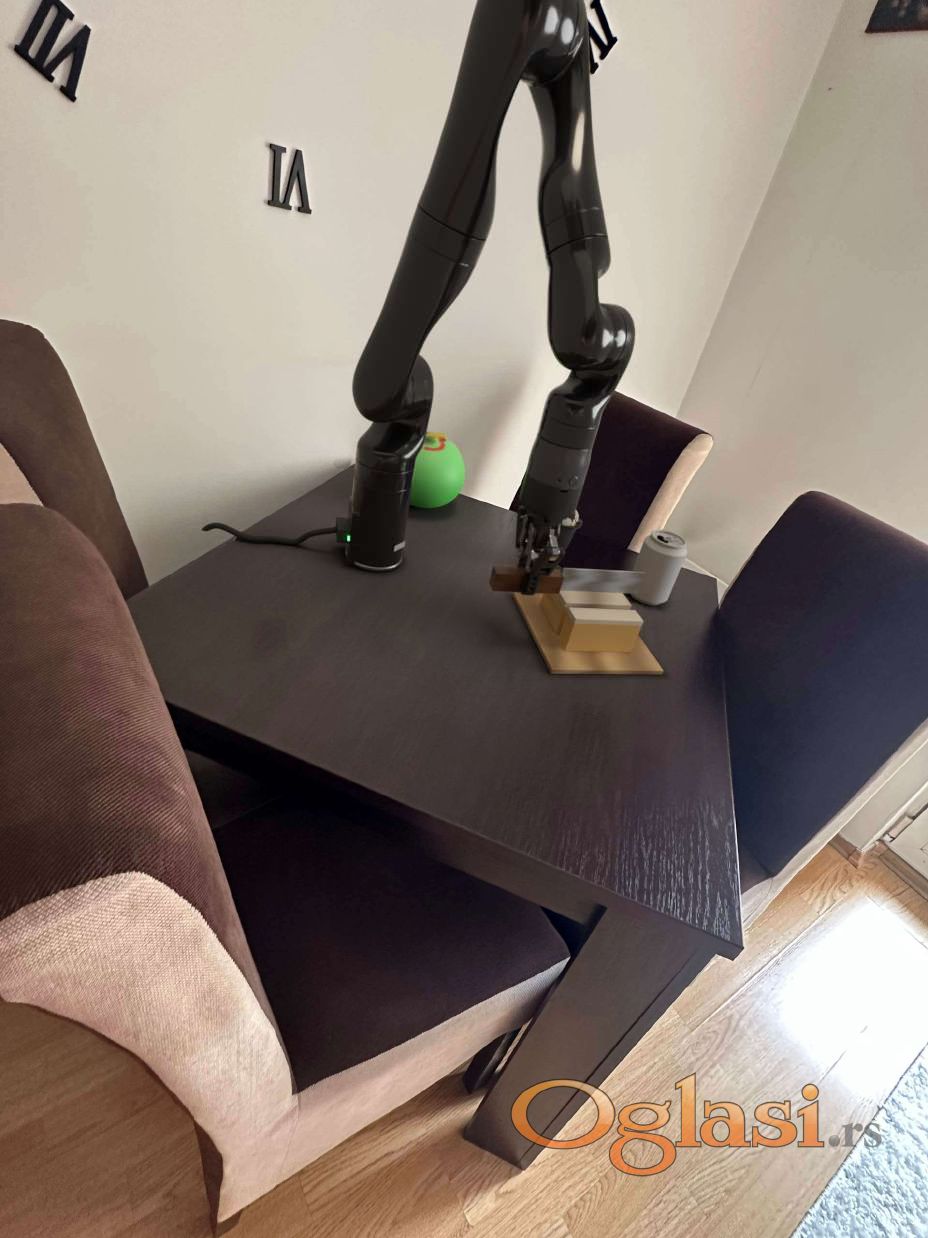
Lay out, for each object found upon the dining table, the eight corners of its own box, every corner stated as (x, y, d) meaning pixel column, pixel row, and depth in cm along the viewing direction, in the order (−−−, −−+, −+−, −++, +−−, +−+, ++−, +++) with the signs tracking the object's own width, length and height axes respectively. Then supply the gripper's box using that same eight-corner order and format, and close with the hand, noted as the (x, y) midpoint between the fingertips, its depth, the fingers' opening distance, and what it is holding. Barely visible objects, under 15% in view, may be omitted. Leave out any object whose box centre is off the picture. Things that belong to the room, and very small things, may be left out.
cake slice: (564, 651, 96) (575, 619, 93) (558, 639, 98) (568, 607, 95) (630, 652, 99) (643, 621, 96) (622, 640, 101) (635, 609, 98)
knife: (492, 591, 90) (498, 568, 88) (488, 582, 91) (494, 560, 90) (639, 597, 96) (648, 576, 94) (633, 589, 98) (641, 568, 96)
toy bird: (465, 525, 127) (480, 453, 119) (378, 517, 122) (388, 442, 114) (450, 487, 141) (462, 420, 133) (372, 479, 137) (380, 409, 129)
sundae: (566, 563, 121) (589, 488, 113) (567, 581, 116) (592, 503, 107) (531, 556, 121) (552, 480, 113) (531, 573, 115) (553, 495, 107)
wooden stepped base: (550, 674, 92) (563, 636, 88) (512, 596, 108) (521, 561, 104) (662, 674, 97) (678, 639, 93) (609, 600, 113) (621, 567, 109)
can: (620, 582, 119) (642, 523, 112) (658, 587, 120) (681, 529, 114) (632, 605, 113) (656, 544, 106) (672, 609, 114) (698, 550, 107)
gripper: (512, 450, 87) (486, 562, 96) (545, 494, 76) (512, 615, 85) (564, 455, 89) (533, 564, 99) (603, 499, 78) (564, 617, 88)
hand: (524, 588), depth 92 cm, fingers closed on knife, 2 cm apart
